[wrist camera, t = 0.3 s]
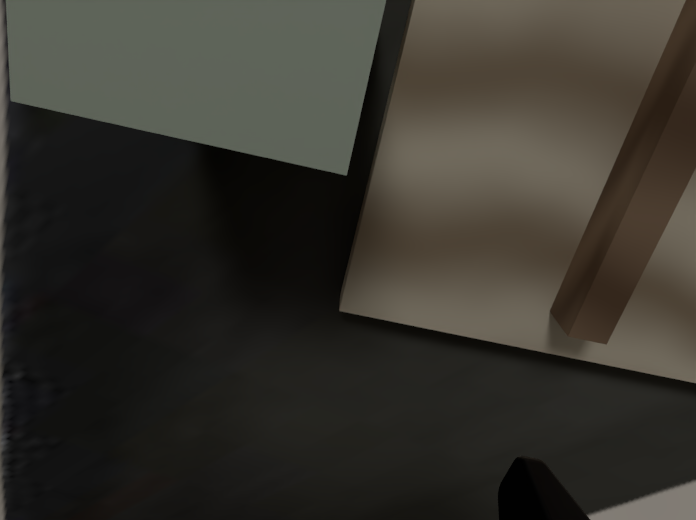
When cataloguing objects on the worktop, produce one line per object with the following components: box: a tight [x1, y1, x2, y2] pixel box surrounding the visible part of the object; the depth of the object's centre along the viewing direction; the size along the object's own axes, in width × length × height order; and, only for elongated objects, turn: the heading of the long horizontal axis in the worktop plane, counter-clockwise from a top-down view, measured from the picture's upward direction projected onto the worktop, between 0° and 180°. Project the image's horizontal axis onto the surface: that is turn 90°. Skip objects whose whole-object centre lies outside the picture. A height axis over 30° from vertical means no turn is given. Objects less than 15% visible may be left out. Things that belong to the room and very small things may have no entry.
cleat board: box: [339, 0, 696, 383], centre depth 18 cm, size 20×19×4 cm
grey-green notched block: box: [6, 0, 386, 176], centre depth 14 cm, size 4×6×10 cm, turn 78°
